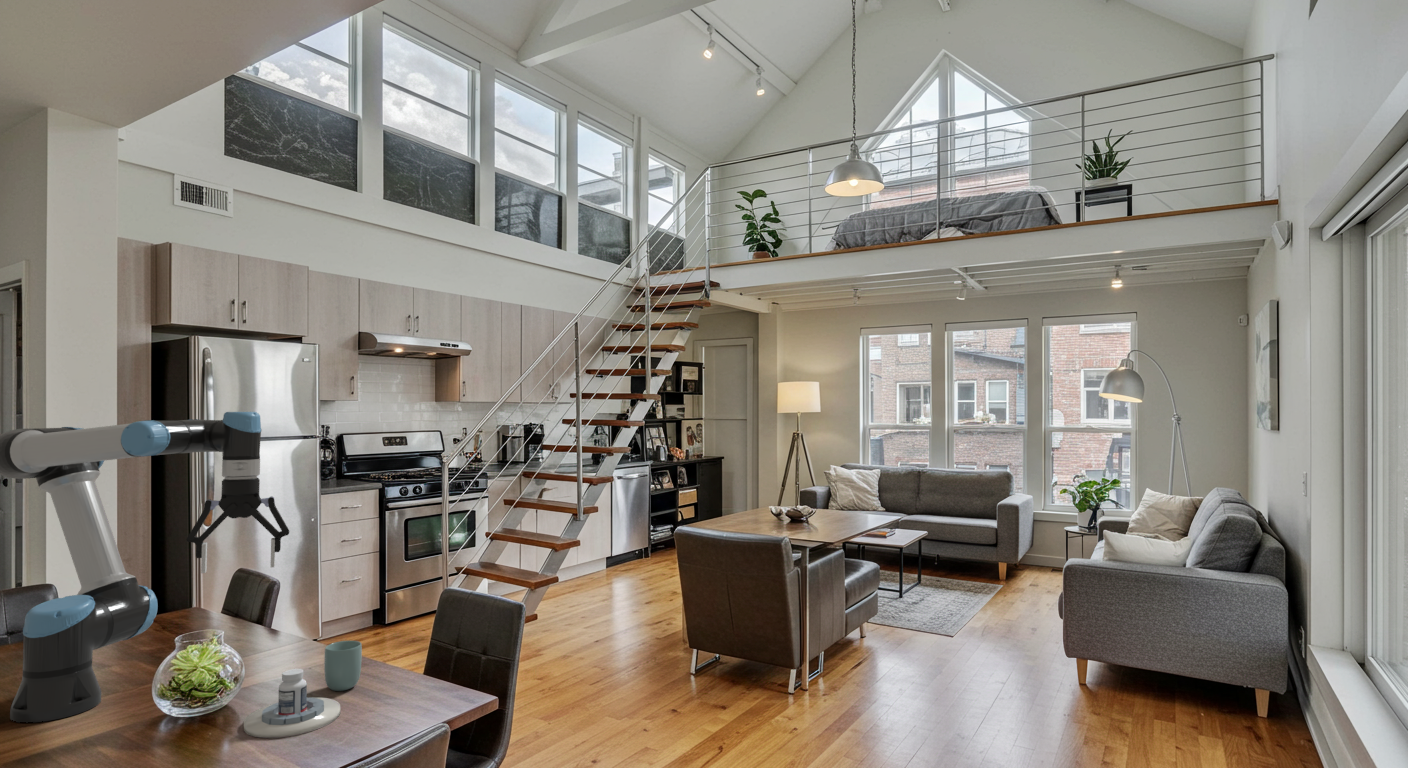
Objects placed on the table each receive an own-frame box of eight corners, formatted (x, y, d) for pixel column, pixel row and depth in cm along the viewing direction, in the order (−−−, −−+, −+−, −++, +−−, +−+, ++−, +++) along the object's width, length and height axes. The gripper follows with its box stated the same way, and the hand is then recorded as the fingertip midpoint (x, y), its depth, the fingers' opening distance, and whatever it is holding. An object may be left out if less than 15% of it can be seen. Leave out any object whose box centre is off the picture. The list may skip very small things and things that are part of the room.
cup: (346, 695, 172) (347, 651, 173) (316, 692, 174) (317, 649, 174) (367, 683, 180) (368, 641, 180) (339, 681, 182) (340, 639, 182)
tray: (240, 745, 147) (240, 732, 147) (246, 712, 163) (247, 700, 163) (341, 727, 155) (342, 715, 155) (338, 697, 171) (339, 686, 171)
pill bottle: (300, 706, 163) (300, 665, 163) (310, 713, 159) (311, 670, 160) (273, 714, 159) (274, 672, 159) (284, 721, 155) (285, 677, 156)
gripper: (173, 481, 165) (170, 577, 165) (301, 476, 177) (299, 567, 176) (178, 478, 172) (176, 571, 171) (301, 474, 184) (299, 561, 183)
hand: (238, 569), depth 174 cm, fingers open, 13 cm apart
